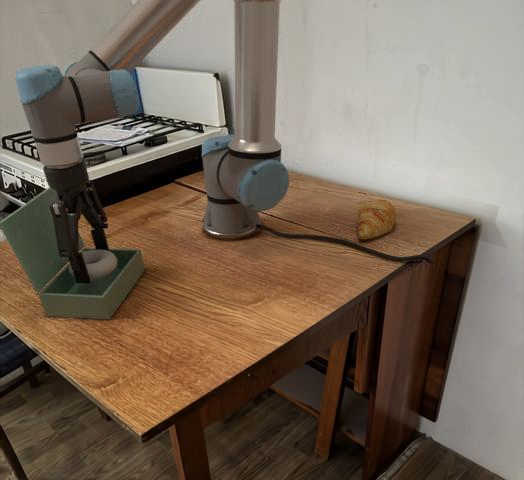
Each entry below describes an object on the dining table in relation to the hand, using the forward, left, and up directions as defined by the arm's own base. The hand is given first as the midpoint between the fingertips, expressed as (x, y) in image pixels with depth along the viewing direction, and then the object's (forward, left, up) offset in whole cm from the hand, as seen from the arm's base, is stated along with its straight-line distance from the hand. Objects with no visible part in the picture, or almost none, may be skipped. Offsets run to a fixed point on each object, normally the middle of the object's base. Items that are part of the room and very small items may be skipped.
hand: (94, 269), depth 105 cm
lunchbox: (0, 0, -5) cm, 5 cm away
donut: (0, 0, -1) cm, 1 cm away
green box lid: (+8, 0, +8) cm, 11 cm away
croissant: (-59, -38, -5) cm, 70 cm away
